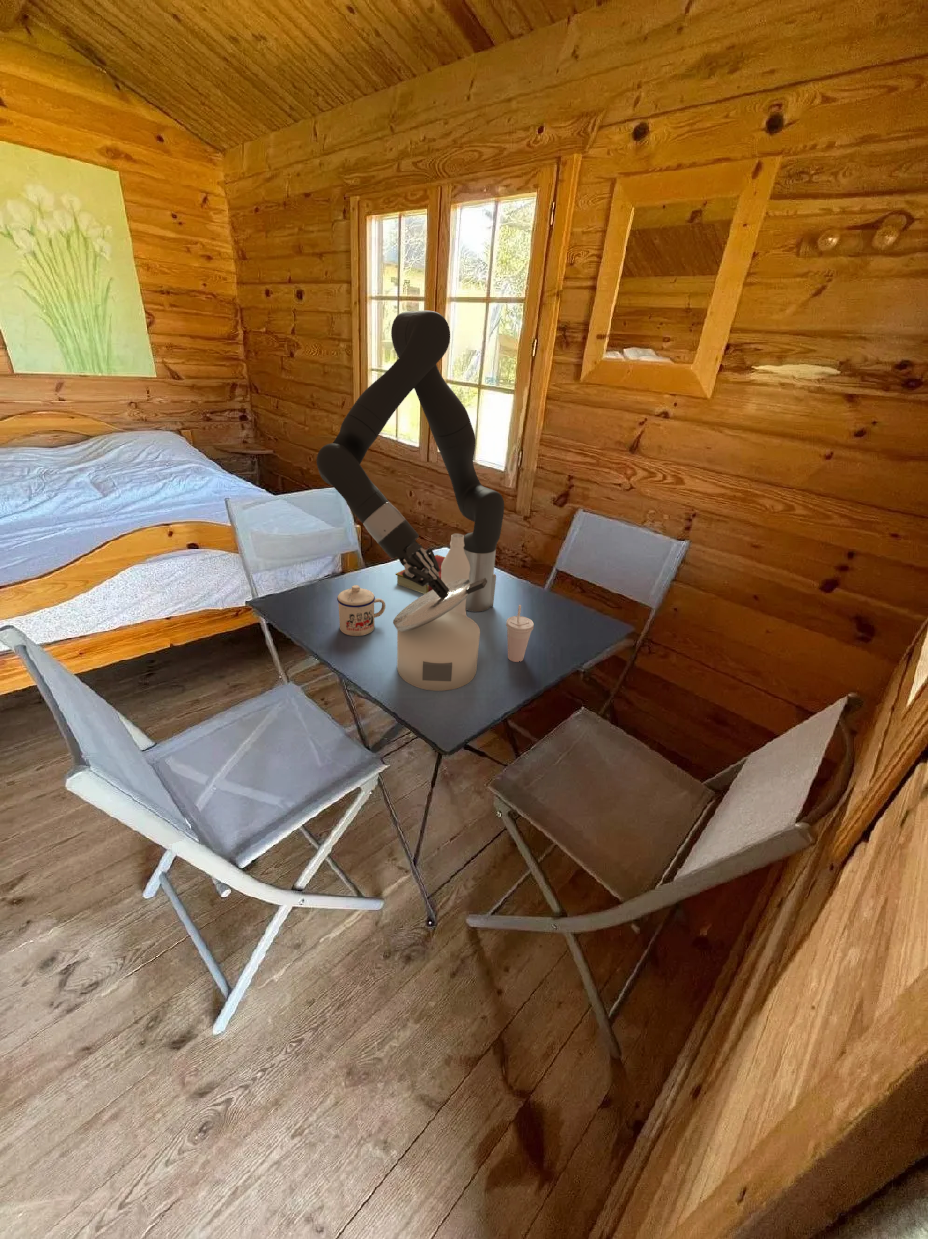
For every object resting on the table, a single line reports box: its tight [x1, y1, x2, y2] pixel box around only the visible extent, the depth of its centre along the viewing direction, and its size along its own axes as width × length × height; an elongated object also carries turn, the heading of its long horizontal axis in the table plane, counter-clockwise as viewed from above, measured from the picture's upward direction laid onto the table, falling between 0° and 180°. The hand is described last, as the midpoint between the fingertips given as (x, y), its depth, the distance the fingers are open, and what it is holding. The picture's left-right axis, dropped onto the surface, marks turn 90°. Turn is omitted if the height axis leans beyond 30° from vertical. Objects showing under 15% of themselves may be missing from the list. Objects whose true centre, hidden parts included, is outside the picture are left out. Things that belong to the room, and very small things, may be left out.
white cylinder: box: [396, 611, 481, 692], centre depth 115 cm, size 18×19×10 cm
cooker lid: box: [392, 578, 488, 631], centre depth 109 cm, size 22×19×2 cm
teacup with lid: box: [336, 584, 386, 637], centre depth 128 cm, size 12×9×12 cm
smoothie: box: [505, 604, 535, 663], centre depth 120 cm, size 6×6×14 cm
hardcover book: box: [395, 554, 446, 595], centre depth 160 cm, size 12×21×4 cm, turn 147°
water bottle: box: [441, 533, 470, 617], centre depth 128 cm, size 7×7×25 cm
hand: (445, 594), depth 108 cm, fingers closed
